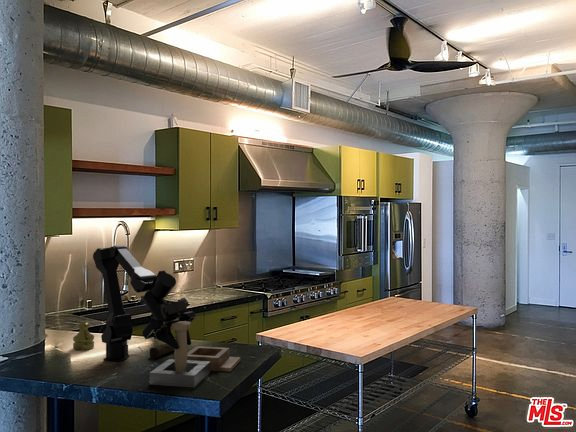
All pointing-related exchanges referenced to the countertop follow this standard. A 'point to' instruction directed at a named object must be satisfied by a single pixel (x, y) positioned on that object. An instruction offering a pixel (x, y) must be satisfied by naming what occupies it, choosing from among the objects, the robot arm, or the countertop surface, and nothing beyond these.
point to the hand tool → (160, 350)
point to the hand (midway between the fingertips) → (184, 346)
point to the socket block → (180, 374)
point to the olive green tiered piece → (83, 338)
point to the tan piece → (214, 357)
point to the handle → (181, 344)
